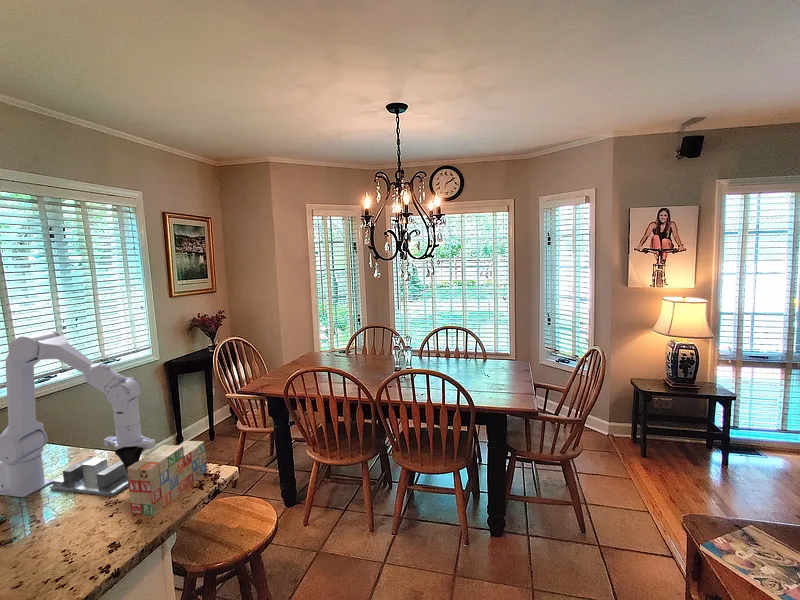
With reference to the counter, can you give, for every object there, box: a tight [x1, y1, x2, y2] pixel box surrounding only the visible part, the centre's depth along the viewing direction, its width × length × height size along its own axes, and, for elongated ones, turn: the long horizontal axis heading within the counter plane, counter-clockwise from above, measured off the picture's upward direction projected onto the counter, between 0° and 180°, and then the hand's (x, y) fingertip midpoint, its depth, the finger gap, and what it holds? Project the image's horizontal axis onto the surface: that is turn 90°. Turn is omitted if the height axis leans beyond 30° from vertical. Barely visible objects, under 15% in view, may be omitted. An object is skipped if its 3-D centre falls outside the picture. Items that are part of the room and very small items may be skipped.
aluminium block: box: [82, 456, 109, 483], centre depth 116 cm, size 4×4×5 cm
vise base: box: [49, 456, 129, 497], centre depth 116 cm, size 20×11×5 cm, turn 79°
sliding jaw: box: [97, 459, 128, 487], centre depth 115 cm, size 2×8×4 cm, turn 170°
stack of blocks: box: [127, 440, 208, 517], centre depth 111 cm, size 21×6×12 cm, turn 171°
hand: (132, 471), depth 114 cm, fingers closed
